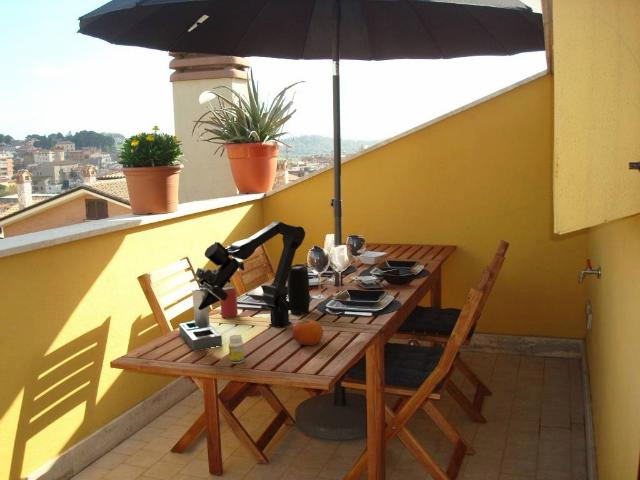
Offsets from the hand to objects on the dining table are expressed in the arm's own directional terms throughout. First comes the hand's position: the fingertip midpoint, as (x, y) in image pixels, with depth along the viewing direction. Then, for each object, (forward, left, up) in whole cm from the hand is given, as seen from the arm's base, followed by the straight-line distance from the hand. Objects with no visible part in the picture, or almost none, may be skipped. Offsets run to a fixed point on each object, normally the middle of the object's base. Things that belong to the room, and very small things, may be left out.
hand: (197, 307), depth 222 cm
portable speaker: (-9, -48, -14) cm, 51 cm away
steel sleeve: (-1, -1, -7) cm, 7 cm away
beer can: (+14, -31, -14) cm, 37 cm away
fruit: (-34, -18, -14) cm, 41 cm away
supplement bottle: (-23, +7, -14) cm, 28 cm away
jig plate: (+3, -4, -13) cm, 14 cm away
